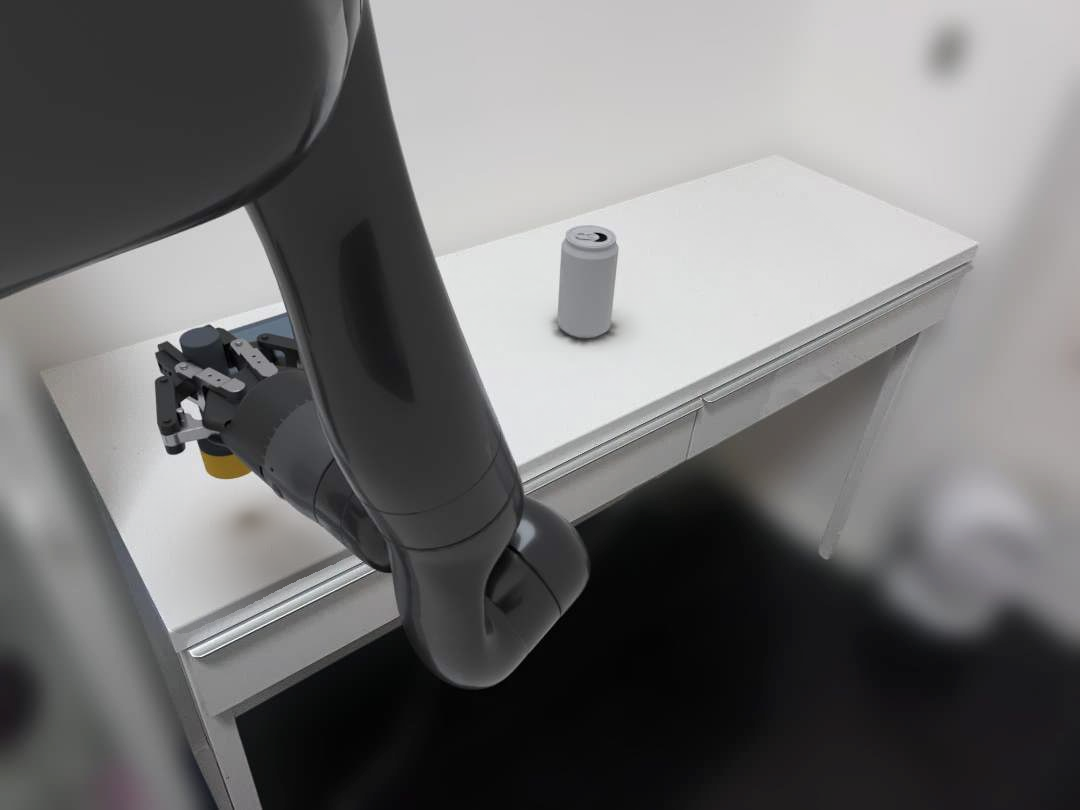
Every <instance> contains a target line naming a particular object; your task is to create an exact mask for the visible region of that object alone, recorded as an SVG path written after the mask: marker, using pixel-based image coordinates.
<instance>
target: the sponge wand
mask: <svg viewBox="0 0 1080 810" xmlns="http://www.w3.org/2000/svg"><path fill="white" fill-rule="evenodd" d="M214 328H215V327H214ZM214 328H211V327H203V326H200V327H194V328H191V329H189V330H186V331H185V332H183V333H182V334H181V335H180V337H179V339H178V342H179V345H180V349H181V352H182V353H183V354H184V355H185V356H186V357H188V358H190V360H191V363H193V364H194V365H196V366H198V367H200V368H202V369H205V368H207V367H210V368H212V369H214V370H215V371H217V372H219V373H221V374H223V375H225V376H229V375H230V372H229V368H228V364H227V360H226V356H225V352H224V348H223V344H222V340H221V336H220V333H219V331H218V330H216V329H214ZM197 408H198V410H199V414H200V418H202V416H203V411H202V409H201V408H200V407H199V406H198V405H197ZM196 442H197V443H196V444H197V446H198V449H199V452H200V456H201V459H202V462H203V465H204V469H205V471H206V473H207V474H208V475H209V476H211V477H213V478H215V479H219V480H234V479H237V478H238V479H239V478H241V477H245V476H247V475H248V474H250V473H252V472H253V471H251V470H250V469H249V468H248V467H247V466H246V465H244V464H243V463H242V462H241V461H240V460H239V459H238V458H237V457H236V456H235V455H234V454H233V453H232V451H231V450H230V449H229V448H227V447H225V446H221V445H216V444H213V443H211V442H210V441H209V440H208V439H207V438H204V439H199V440H196Z"/></svg>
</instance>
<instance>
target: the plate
mask: <svg viewBox="0 0 1080 810" xmlns="http://www.w3.org/2000/svg"><path fill="white" fill-rule="evenodd" d="M227 331H228V332H229V333H230V334H232V335H233V336H235V337H236V338H237V339H245V340H246V341H247V342H254V341H257V336H259V335H260V334H264V333H269V334H274V335H278V336H283V337H287V338H292V339H294V336H293V332H292V329H291V325H290V321H289V318H288V315H287V311H286V312H283V313H279V314H276V315H273V316H270V317H267V318H264V319H260V320H258V321H254V322H251V323H248V324H245V325H242V326H241V325H240V326H239V327H235V328H232V329H229V330H227ZM276 353H277V356H281V357H285V355H284V353H283V352H282V351H278V350H276ZM229 372H230V375H233V374H235V373H237V371H236V367H234V368H232V369H230V368H229Z"/></svg>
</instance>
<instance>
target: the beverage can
mask: <svg viewBox="0 0 1080 810" xmlns="http://www.w3.org/2000/svg"><path fill="white" fill-rule="evenodd" d="M564 237H565V238H564V239H563V240H562V242H561V245H560V246H561V248H560V265H559V282H558V283H559V284H558V299H557V301H558V302H557V315H556V316H557V317H556V321H557V326H558V327H559V328H560V329H561V330H562V331H563V332H565V333H566V334H567V335H569V336H571V337H574V338H577V339H592V338H597V337H600V336H601V335H603V334H604V333H607V332H608V331H609V329H610V328H611V324H612V316H613V305H614V296H615V287H616V279H617V277H616V276H617V267H618V260H619V248H620V247H619V245H618V243H617V235H616V234H615V232H613V230H611V229H609V228H607V227H604V226H600V225H594V224H593V225H591V224H584V225H582V224H581V225H577V226H574V227H571V228H569V229H568V230H567V231H565V236H564Z"/></svg>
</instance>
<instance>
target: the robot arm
mask: <svg viewBox="0 0 1080 810" xmlns="http://www.w3.org/2000/svg"><path fill="white" fill-rule="evenodd" d="M390 99H391V98H390V95H389V91H388V85H387V82H386V76H385V71H384V67H383V62H382V57H381V52H380V48H379V43H378V38H377V33H376V27H375V22H374V18H373V12H372V8H371V3H370V0H0V301H1V300H3V299H6V298H8V297H11V296H13V295H17V294H19V293H21V292H23V291H25V290H28V289H30V288H33V287H35V286H38V285H41V284H44V283H46V282H49V281H51V280H54V279H55V280H56V279H57V278H60V277H62V276H65V275H68V274H70V273H73V272H76V271H78V270H81V269H84V268H86V267H89V266H92V265H95V264H97V263H100V262H103V261H105V260H108V259H112V258H114V257H116V256H119V255H123V254H125V253H129V252H131V251H134V250H137V249H140V248H142V247H145V246H148V245H150V244H153V243H156V242H159V241H162V240H165V239H168V238H171V237H173V236H175V235H178V234H181V233H184V232H187V231H189V230H191V229H194V228H196V227H199V226H200V227H201V226H202V225H204V224H207V223H209V222H212V221H215V220H216V219H219V218H221V217H224V216H226V215H228V214H230V213H233V212H236V211H237V210H240V209H241V208H244V210H245V212H246V213H247V214H246V215H248V217H249V219H250V221H251V223H252V226H253V227H254V230H255V232H256V234H257V237H258V238H259V241H260V243H261V245H262V247H263V250H264V252H265V254H266V257H267V260H268V262H269V265H270V268H271V270H272V273H273V275H274V278H275V280H276V283H277V286H278V290H279V293H280V296H281V299H282V302H283V305H284V308H285V311H286V312H287V315H288V318H289V321H290V325H291V329H292V332H293V336H294V339H292V338H287V337H283V336H278V335H274V334H269V333H264V334H260V335H259V336H257V341H254V342H247V341H246V340H245V339H237V338H236V337H235V336H233V335H232V334H230V333H229V332H228V331H229V330H227V329H225V328H224V327H223V328H222V327H219V326H218V327H215V326H213V325H212V324H211V323H209V324H205V325H204V326H203V325H202V327H211V328H214V329H216V330H218V331H219V333H220V336H221V340H222V344H223V348H224V352H225V356H226V360H227V364H228V368H230V369H232V368H234V367H236V371H237V373H235V374H233V375H229V376H225V375H223V374H221V373H219V372H217V371H215V370H214V369H212V368H210V367H207V368H205V369H202V368H200V367H198V366H196V365H194V364H193V363H191V360H190V358H188V357H186V356H185V355H184V354H183V353H182V350H180V349H179V348H178V347H176V346H175V345H173V344H172V343H171V342H169V341H168V340H165V341H163V342H161V343H158V344H157V350H158V351H156V352H154V355H155V360H156V363H157V367H158V370H159V372H160V374H162V375H161V376H158V377H156V378H155V380H154V393H155V409H156V424H157V427H158V431H159V434H160V437H161V440H162V443H163V445H164V448H165V451H166V453H167V454H168V455H171V456H177V455H179V454H181V453H184V451H185V450H186V446H187V445H186V443H189V442H194V441H197V440H199V439H204V438H207V439H208V440H209V441H210V442H211V443H213V444H216V445H221V446H225V447H227V448H229V449H230V450H231V451H232V453H233V454H234V455H235V456H236V457H237V458H238V459H239V460H240V461H241V462H242V463H243V464H244V465H246V466H247V467H248V468H249V469H250V470H251V471H252V472H253V474H255V476H257V477H258V478H259V479H260V480H261V481H262V482H264V483H265V484H266V485H267V486H268V487H269V488H270V489H271V490H272V491H273V492H274V493H275V495H276V496H277V497H278V498H279V499H281V500H283V501H285V502H287V503H288V504H289V505H290V506H291V507H292V508H293V509H295V510H296V511H297V512H299V514H301V515H303V516H304V517H306V518H308V519H310V520H312V521H313V522H314V523H316V524H317V525H319V526H320V527H321V528H323V529H324V530H325V531H327V533H329V534H330V535H331V536H332V537H333V538H335V539H336V540H337V541H338V542H339V543H340V544H341V545H343V546H344V547H345V548H346V549H347V550H348V551H349V552H350V553H351V554H353V555H354V556H355V557H356V558H357V559H359V560H360V561H361V562H362V563H363V564H364V565H366V566H368V567H369V568H371V569H372V570H374V571H377V572H378V573H382V574H391V577H392V584H393V590H394V591H393V592H394V596H395V603H396V607H397V610H398V611H397V612H398V615H399V618H400V622H401V625H402V627H403V631H404V633H405V636H406V638H407V640H408V642H409V644H410V645H411V647H412V649H413V651H414V652H415V654H416V655H417V657H418V658H419V660H420V661H421V662H422V663H423V665H424V666H425V667H426V668H427V669H428V670H429V671H430V672H431V673H432V674H433V675H435V676H436V677H437V678H438V679H439V680H442V681H443V682H445V683H446V684H448V685H449V686H453V687H455V688H458V689H463V690H475V691H477V690H484V689H488V688H491V687H494V686H496V685H498V684H499V683H501V682H503V681H504V680H505V679H507V678H508V677H509V676H510V675H511V674H512V673H513V672H514V671H515V670H516V669H517V668H518V667H519V665H521V663H522V662H523V661H524V660H525V659H526V658H527V656H528V655H529V654H530V653H531V652H532V650H534V648H536V646H537V645H538V644H539V643H540V642H541V640H542V639H544V637H545V636H546V634H547V633H548V632H549V631H550V630H551V629H552V628H553V627H554V625H555V624H557V621H559V619H560V618H562V616H564V614H565V613H566V612H567V611H568V610H569V609H570V608H571V607H572V605H573V604H574V603H575V602H576V601H577V599H579V597H580V596H581V595H582V593H583V591H584V590H585V588H586V587H587V585H588V582H589V580H590V576H591V560H590V555H589V552H588V548H587V547H586V544H585V541H584V540H583V538H582V536H581V535H580V533H579V532H578V530H577V529H576V528H575V527H574V525H573V524H572V523H571V522H570V521H569V520H568V519H567V518H566V517H564V515H562V514H561V513H559V512H558V511H557V510H556V509H554V508H553V507H551V506H549V505H547V504H545V503H543V502H542V501H540V500H539V499H536V498H534V497H531V496H529V495H526V494H525V488H524V484H523V479H522V476H521V473H520V471H519V468H518V466H517V463H516V460H515V459H514V456H513V453H512V451H511V449H510V446H509V444H508V441H507V439H506V436H505V433H504V432H503V431H504V430H503V429H502V427H501V424H500V421H499V418H498V416H497V414H496V411H495V409H494V407H493V404H492V402H491V400H490V398H489V395H488V393H487V390H486V388H485V385H484V383H483V381H482V378H481V375H480V373H479V370H478V368H477V366H476V363H475V360H474V358H473V355H472V353H471V351H470V348H469V346H468V343H467V340H466V338H465V335H464V333H463V330H462V327H461V324H460V322H459V320H458V317H457V314H456V311H455V309H454V306H453V303H452V301H451V298H450V296H449V293H448V291H447V287H446V285H445V281H444V279H443V277H442V273H441V271H440V268H439V265H438V262H437V259H436V256H435V254H434V251H433V248H432V245H431V242H430V238H429V236H428V233H427V230H426V227H425V224H424V221H423V217H422V214H421V210H420V208H419V205H418V201H417V197H416V195H415V191H414V187H413V184H412V179H411V177H410V173H409V170H408V166H407V163H406V160H405V159H406V158H405V155H404V152H403V149H402V144H401V141H400V137H399V133H398V128H397V125H396V122H395V118H394V114H393V109H392V104H391V101H390ZM276 350H278V351H282V352H283V353H284V355H285V357H281V356H277V353H276ZM185 400H188V401H190V402H191V403H193V404H195V405H197V407H198V406H199V407H200V408H201V409H202V411H203V416H202V417H201V419H196V418H194V417H193V416H192V414H190V413H188V412H185V409H184V408H183V407H182V402H183V401H185ZM199 407H198V408H199Z"/></svg>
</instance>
